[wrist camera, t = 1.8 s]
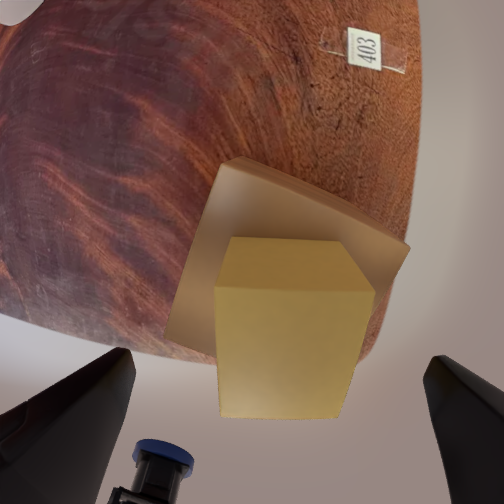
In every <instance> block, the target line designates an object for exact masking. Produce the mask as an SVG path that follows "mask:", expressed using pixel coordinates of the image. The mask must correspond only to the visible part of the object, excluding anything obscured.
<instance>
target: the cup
mask: <svg viewBox="0 0 504 504" xmlns="http://www.w3.org/2000/svg"><path fill="white" fill-rule="evenodd" d="M43 1H44V0H0V24H4V25H8V26H13V25H16V24H18V23H20V22H22V21H23V20H25V19H26V18H27V17H29V16H30V15H31V14H32V13H33V12H34V11H35V10H36V9H37V8H38V7H39V6H40V5H41V4H42V2H43Z"/></svg>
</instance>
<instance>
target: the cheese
mask: <svg viewBox="0 0 504 504" xmlns="http://www.w3.org/2000/svg"><path fill="white" fill-rule="evenodd" d="M374 297H375V290H374V289H373V287H372V286H371V284H370V283H369V281H368V280H367V279H366V277H365V276H364V274H363V273H362V271H361V270H360V269H359V267H358V266H357V264H356V263H355V262H354V260H353V259H352V257H351V256H350V255H349V253H348V252H347V250H346V249H345V248H344V246H343V245H342V244H341V242H339V241H321V240H301V239H279V238H256V237H231V239H230V242H229V245H228V248H227V251H226V253H225V256H224V259H223V262H222V265H221V268H220V271H219V273H218V276H217V279H216V282H215V285H214V312H215V337H216V358H217V376H218V391H219V407H220V416H221V417H229V418H244V419H269V420H305V419H329V418H338V416H339V413H340V410H341V408H342V405H343V402H344V400H345V397H346V394H347V391H348V388H349V385H350V382H351V379H352V376H353V373H354V370H355V367H356V364H357V361H358V357H359V354H360V351H361V347H362V344H363V340H364V337H365V333H366V329H367V326H368V322H369V318H370V314H371V310H372V306H373V302H374Z"/></svg>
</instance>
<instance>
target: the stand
mask: <svg viewBox="0 0 504 504" xmlns="http://www.w3.org/2000/svg"><path fill="white" fill-rule="evenodd" d="M231 237H256V238H279V239H301V240H321V241H339V242H341V244H342V245H343V246H344V248H345V249H346V250H347V252H348V253H349V255H350V256H351V257H352V259H353V260H354V262H355V263H356V264H357V266H358V267H359V269H360V270H361V271H362V273H363V274H364V276H365V277H366V279H367V280H368V281H369V283H370V284H371V286H372V287H373V289H374V290H375V297H374V302H373V306H372V310H371V314H370V318H371V316H372V315H373V313H374V312H375V310H376V308H377V307H378V305H379V303H380V302H381V300H382V299H383V297H384V295H385V294H386V292H387V290H388V288H389V287H390V285H391V283H392V282H393V280H394V278H395V276H396V275H397V273H398V271H399V269H400V267H401V266H402V264H403V262H404V260H405V258H406V256H407V254H408V252H409V251H410V246H409V245H407V244H406V243H405V242H403V241H402V240H401V239H400V238H398V237H397V236H396V235H394V234H393V233H392V232H390V231H389V230H388V229H387V228H385V227H384V226H383V225H381V224H380V223H379V222H377V221H376V220H374V219H373V218H372V217H370V216H369V215H368V214H366V213H365V212H363V211H362V210H361V209H359V208H358V207H356V206H355V205H354V204H352V203H350V202H348V201H346V200H344V199H342V198H340V197H338V196H336V195H334V194H331V193H329V192H327V191H325V190H323V189H321V188H318V187H316V186H314V185H312V184H309V183H307V182H305V181H303V180H300V179H298V178H296V177H293V176H291V175H289V174H286V173H284V172H282V171H279V170H277V169H274V168H272V167H269V166H267V165H264V164H262V163H259V162H257V161H254V160H252V159H249V158H247V157H244V156H239V157H237V158H234V159H232V160H229V161H226V162H224V163H222V164H221V165H220V167H219V170H218V172H217V175H216V178H215V180H214V183H213V186H212V188H211V191H210V194H209V197H208V199H207V202H206V205H205V208H204V210H203V213H202V216H201V219H200V222H199V224H198V227H197V230H196V233H195V236H194V239H193V242H192V245H191V248H190V251H189V254H188V257H187V260H186V263H185V266H184V269H183V272H182V275H181V279H180V282H179V285H178V288H177V291H176V295H175V298H174V301H173V304H172V308H171V311H170V314H169V318H168V321H167V325H166V328H165V332H164V335H163V338H164V339H167V340H169V341H172V342H175V343H177V344H180V345H182V346H185V347H188V348H190V349H193V350H196V351H198V352H201V353H204V354H207V355H209V356H212V357H215V358H216V337H215V312H214V285H215V282H216V279H217V276H218V273H219V271H220V268H221V265H222V262H223V259H224V256H225V253H226V251H227V248H228V245H229V242H230V239H231ZM370 318H369V319H370Z"/></svg>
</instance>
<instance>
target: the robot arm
mask: <svg viewBox="0 0 504 504" xmlns="http://www.w3.org/2000/svg"><path fill="white" fill-rule="evenodd" d="M135 377H136V369H135V365H134V362H133V358H132V354H131V351H130V350H129V349H126V348H120V347H116V348H114V349H112V350H111V351H109V352H107V353H106V354H104V355H102V356H101V357H99V358H97V359H96V360H94V361H92V362H91V363H89V364H87V365H86V366H84V367H82V368H81V369H79V370H77V371H76V372H74V373H73V374H71V375H69V376H67V377H66V378H64V379H62V380H60V381H59V382H57V383H55V384H54V385H52V386H50V387H49V388H47V389H45V390H44V391H42V392H40V393H39V394H37V395H35V396H33V397H32V398H30V399H28V401H25V402H23V403H21V404H20V405H18V406H16V407H15V408H13V409H11V410H9V411H7V412H5V413H4V414H1V415H0V504H95V502H96V499H97V496H98V492H99V489H100V486H101V483H102V480H103V477H104V475H105V471H106V469H107V466H108V463H109V460H110V457H111V454H112V451H113V449H114V446H115V443H116V441H117V437H118V435H119V433H120V430H121V427H122V425H123V422H124V419H125V415H126V412H127V407H128V404H129V400H130V396H131V392H132V388H133V384H134V381H135ZM423 384H424V388H425V393H426V397H427V402H428V407H429V412H430V417H431V421H432V425H433V429H434V432H435V436H436V439H437V443H438V446H439V450H440V454H441V458H442V462H443V466H444V470H445V475H446V479H447V484H448V488H449V493H450V498H451V504H504V392H503V391H501V390H500V389H498V388H497V387H495V386H493V385H492V384H490V383H489V382H487V381H486V380H484V379H482V378H481V377H479V376H478V375H476V374H475V373H473V372H471V371H470V370H468V369H467V368H465V367H463V366H462V365H460V364H459V363H457V362H455V361H454V360H452V359H451V358H449V357H447V356H446V355H438V356H434V357H433V358H432V359H431V361H430V363H429V365H428V367H427V369H426V372H425V374H424V376H423ZM136 468H137V471H136V474H135V478H134V481H133V483H132V486H131V490H127V489H125V488H124V487H121V486H120V487H119V488H113V490H112V493H111V496H110V498H109V501H108V503H107V504H176V500H177V495H178V491H179V486H180V482H181V481H182V479H183V478H184V476H185V475H186V473H187V472H188V470H189V468H190V466H189V465H188V464H185V463H181V462H178V461H175V460H172V459H169V458H166V457H163V456H160V455H157V454H154V453H152V452H149V451H146V450H144V449H140V450H139V454H138V458H137V462H136ZM120 500H123V501H121V502H120Z"/></svg>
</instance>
